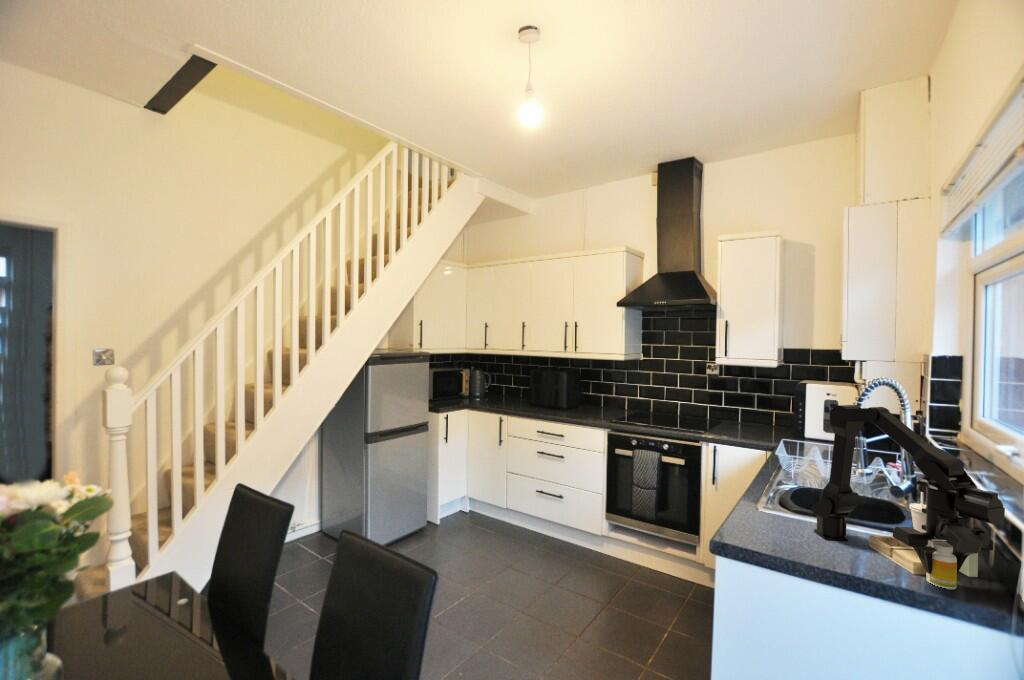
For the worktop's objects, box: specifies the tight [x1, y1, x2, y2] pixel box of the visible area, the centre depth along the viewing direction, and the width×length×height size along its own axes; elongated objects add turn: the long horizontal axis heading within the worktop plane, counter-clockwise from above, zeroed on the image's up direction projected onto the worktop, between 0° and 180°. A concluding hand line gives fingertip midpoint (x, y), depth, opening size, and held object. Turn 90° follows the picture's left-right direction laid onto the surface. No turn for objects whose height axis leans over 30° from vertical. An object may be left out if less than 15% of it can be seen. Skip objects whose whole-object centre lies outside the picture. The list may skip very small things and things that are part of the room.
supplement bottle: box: [925, 541, 958, 590], centre depth 112 cm, size 5×5×10 cm
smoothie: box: [909, 491, 926, 533], centre depth 137 cm, size 6×6×14 cm
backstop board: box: [924, 530, 979, 578], centre depth 122 cm, size 2×14×6 cm, turn 175°
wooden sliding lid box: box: [868, 535, 926, 576], centre depth 124 cm, size 8×16×3 cm, turn 176°
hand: (941, 573), depth 112 cm, fingers closed on supplement bottle, 5 cm apart
